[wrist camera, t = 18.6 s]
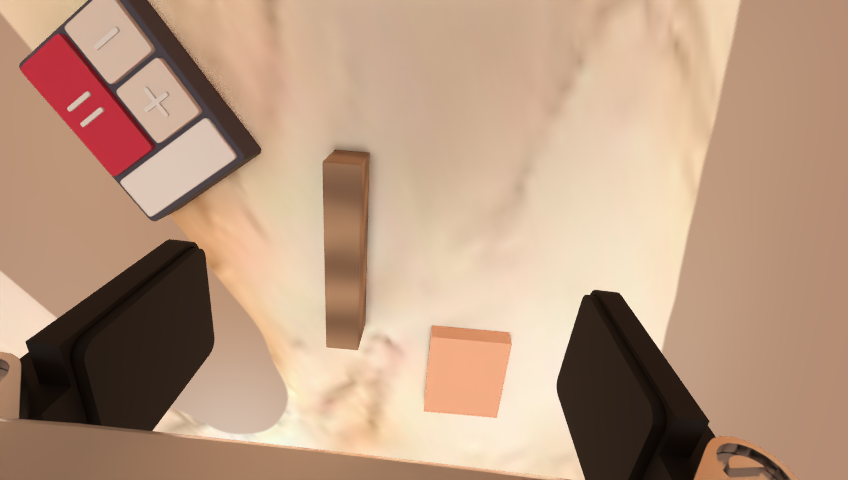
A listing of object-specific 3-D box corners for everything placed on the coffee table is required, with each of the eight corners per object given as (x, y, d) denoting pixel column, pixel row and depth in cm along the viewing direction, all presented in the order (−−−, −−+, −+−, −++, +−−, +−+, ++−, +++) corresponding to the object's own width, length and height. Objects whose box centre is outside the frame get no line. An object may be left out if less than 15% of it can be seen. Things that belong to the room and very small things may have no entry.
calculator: (102, -25, 30) (242, 160, 34) (143, -14, 34) (264, 150, 38) (5, 66, 33) (146, 226, 37) (54, 65, 37) (176, 211, 41)
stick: (335, 149, 38) (322, 162, 34) (369, 152, 38) (360, 165, 34) (337, 319, 46) (326, 347, 41) (365, 322, 46) (357, 350, 41)
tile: (431, 337, 43) (423, 411, 48) (511, 344, 43) (496, 417, 48) (432, 323, 45) (424, 395, 50) (508, 330, 45) (494, 401, 50)
